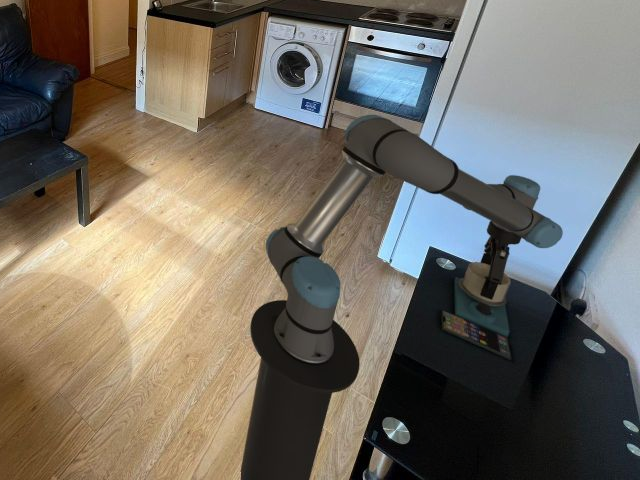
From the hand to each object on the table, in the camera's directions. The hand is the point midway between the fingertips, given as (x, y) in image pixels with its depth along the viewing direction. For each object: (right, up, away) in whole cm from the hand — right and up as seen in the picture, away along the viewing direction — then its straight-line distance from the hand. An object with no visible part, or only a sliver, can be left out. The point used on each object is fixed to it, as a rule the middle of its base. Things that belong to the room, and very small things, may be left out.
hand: (484, 284), depth 125 cm
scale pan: (0, -3, +1) cm, 3 cm away
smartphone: (-12, -10, -10) cm, 19 cm away
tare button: (-6, -5, -6) cm, 10 cm away
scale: (-2, -7, 0) cm, 7 cm away
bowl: (0, -3, +1) cm, 3 cm away
